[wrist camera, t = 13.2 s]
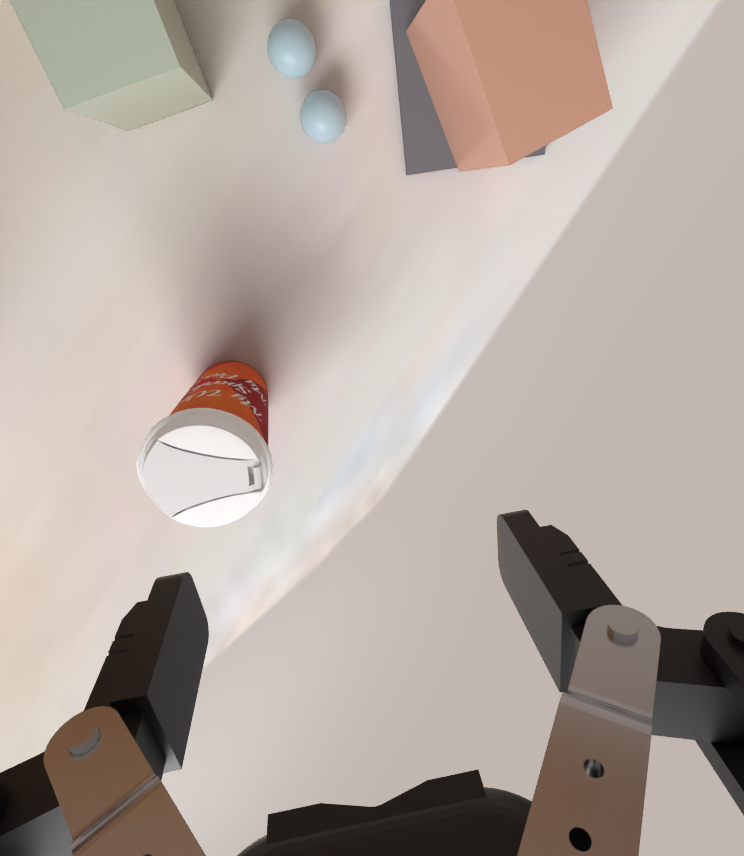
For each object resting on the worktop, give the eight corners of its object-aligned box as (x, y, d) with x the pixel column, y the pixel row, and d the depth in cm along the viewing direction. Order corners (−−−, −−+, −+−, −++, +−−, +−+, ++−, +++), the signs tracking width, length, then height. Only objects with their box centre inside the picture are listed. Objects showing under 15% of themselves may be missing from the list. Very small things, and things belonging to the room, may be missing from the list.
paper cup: (278, 346, 41) (266, 414, 29) (283, 434, 44) (275, 530, 32) (175, 348, 40) (117, 419, 28) (188, 437, 44) (142, 538, 31)
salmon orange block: (536, 129, 36) (612, 108, 27) (459, 171, 37) (509, 165, 28) (490, -19, 33) (562, -99, 24) (405, 31, 33) (444, -29, 24)
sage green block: (212, 100, 34) (180, 66, 25) (127, 131, 34) (64, 109, 25) (145, -74, 30) (78, -188, 21) (49, -38, 30) (-59, -136, 21)
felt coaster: (406, 175, 37) (407, 174, 37) (389, 1, 33) (391, -2, 32) (541, 154, 38) (544, 154, 37) (541, -19, 34) (545, -22, 33)
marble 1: (274, 85, 34) (271, 76, 31) (264, 30, 33) (260, 15, 30) (319, 79, 34) (320, 70, 32) (311, 23, 33) (311, 8, 30)
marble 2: (304, 148, 36) (305, 144, 33) (296, 97, 35) (295, 89, 32) (348, 141, 36) (351, 137, 33) (340, 90, 35) (344, 82, 32)
